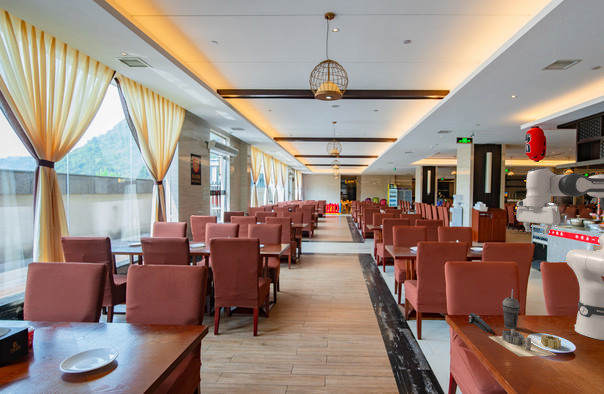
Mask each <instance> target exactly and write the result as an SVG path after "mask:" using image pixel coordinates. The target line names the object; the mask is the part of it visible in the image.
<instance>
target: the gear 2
mask: <svg viewBox="0 0 604 394" xmlns="http://www.w3.org/2000/svg"><path fill="white" fill-rule="evenodd" d="M540 337H541V338H540V344H541V343H542V344H541V345H542V347H546V348H549V349H551V350H552V349H555V350H559V349H561V348H562V340H561V339H560V337H557V336H554V335H552V334H550V335H548V334H543V335H542V334H541V336H540Z"/></svg>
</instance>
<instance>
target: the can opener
mask: <svg viewBox="0 0 604 394" xmlns="http://www.w3.org/2000/svg"><path fill="white" fill-rule="evenodd" d="M468 318H469V319H468V323H469V325H473V324H474V325H475V326H476V327H477V328H479V329H481V330H482V331H483V332H485V333H487V334H490V333H489V332H493V329H492V327H491V326H490V325H488V323H487V322H485V320H483V319H482V317H481V316H480V315H477V314H476V313H474V312H470V313H469V314H468Z"/></svg>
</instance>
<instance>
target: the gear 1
mask: <svg viewBox="0 0 604 394" xmlns="http://www.w3.org/2000/svg"><path fill="white" fill-rule="evenodd" d="M501 336H502V340H504V341H506V342H507V343H511V344H515V345H524V338H526V337H525V334H522V333H520V332H519V331H515V335H511V329H508V330H502V332H501Z"/></svg>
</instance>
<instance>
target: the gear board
mask: <svg viewBox="0 0 604 394" xmlns="http://www.w3.org/2000/svg"><path fill="white" fill-rule="evenodd" d="M510 330H511V335H515V332H516V329H515V330H514V329H510ZM488 338H490V339H491V340H492V341H494V342H496V343H498V344H499V345H500V346H502V347H504V349H505V348H506V349H507V350H509V351H510V352H512V353H513V354H515V355H516V356H518V357H545V356H546V357H547V356H548V357H549V356H557V354H555V353H554V352H552V351H550V350H549V349H547V350H544V349H542V348H539V347H538V346H536V345H534V344H533V343H531V341H532V338H531V337H529V336H528V337H527V336H526V337H525V338H524V345H515V344H511V343H507V342H506V341H504V340H502V335H500V336H499V335H498V336H497V335H496V336H488Z"/></svg>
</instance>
